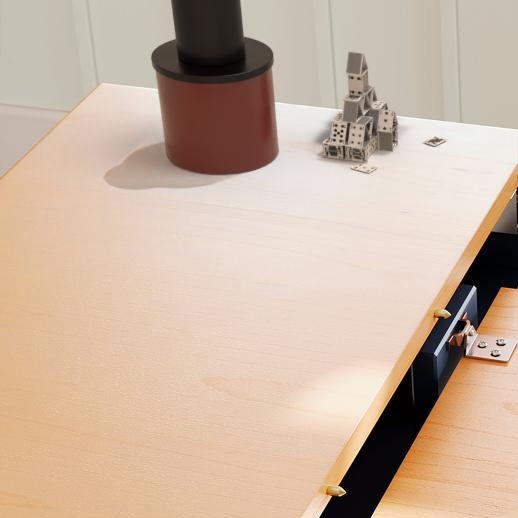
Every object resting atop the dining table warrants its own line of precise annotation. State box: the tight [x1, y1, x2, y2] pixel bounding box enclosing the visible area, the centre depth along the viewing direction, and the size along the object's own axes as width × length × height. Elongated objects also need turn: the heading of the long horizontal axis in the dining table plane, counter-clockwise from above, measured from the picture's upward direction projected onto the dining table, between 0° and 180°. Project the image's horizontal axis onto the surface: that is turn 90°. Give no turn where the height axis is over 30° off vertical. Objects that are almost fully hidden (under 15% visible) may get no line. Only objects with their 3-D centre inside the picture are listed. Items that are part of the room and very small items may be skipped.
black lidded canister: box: [170, 0, 245, 66], centre depth 119 cm, size 5×5×8 cm
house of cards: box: [322, 51, 448, 174], centre depth 126 cm, size 9×9×8 cm
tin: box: [150, 36, 280, 176], centre depth 124 cm, size 9×9×8 cm
